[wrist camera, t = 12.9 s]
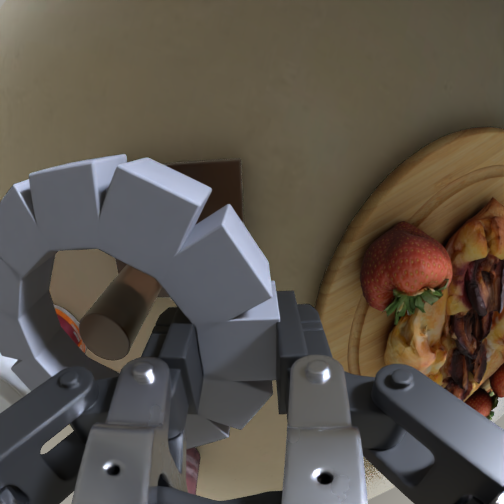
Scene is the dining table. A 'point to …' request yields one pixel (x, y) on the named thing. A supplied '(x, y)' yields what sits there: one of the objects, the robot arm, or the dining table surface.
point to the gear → (149, 262)
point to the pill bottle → (3, 378)
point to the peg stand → (142, 285)
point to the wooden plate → (427, 271)
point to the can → (192, 469)
